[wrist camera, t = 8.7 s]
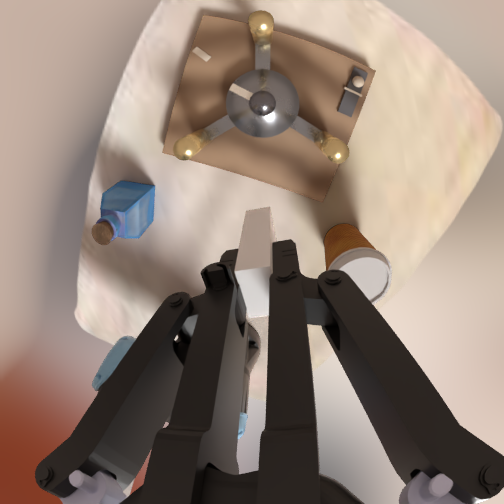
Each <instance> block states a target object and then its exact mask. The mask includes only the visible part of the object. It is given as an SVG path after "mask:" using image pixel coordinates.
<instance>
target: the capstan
mask: <svg viewBox="0 0 504 504" xmlns="http://www.w3.org/2000/svg"><path fill="white" fill-rule="evenodd" d="M248 23H249V26H250V30H251V33H252V37H253V40H254V43H255V70H252V71H249V72H247V73H245V74H243V75H241V76H240V77H239V78H237V79H236V80H235V81H234V82H233V84H232V85H231V87H230V89H229V91H228V93H227V98H226V109H227V113H228V115H226V116H224V117H223V118H221V119H219V120H218V121H216V122H214V123H213V124H211V125H209V126H208V127H206V128H202V129H199V130H197V131H195V132H193V133H191V134H189V135H186V136H184V137H182V138H180V139H178V140H177V141H176V142H175V143H174V146H173V153H174V155H175V156H176V157H177V158H178V159H180V160H188V159H190V158H192V157H193V156H194V155H195V154H197V153H198V152H199V151H200V150H202V149H203V148H204V147H205V146H207V145H208V144H209V143H210V142H211V141H212V139H214V138H216V137H217V136H219V135H221V134H222V133H224V132H226V131H228V130H229V129H231V128H233V127H234V126H236V127H237V128H238V129H239V130H240V131H242V132H244V133H245V134H248V135H250V136H253V137H259V138H267V137H273V136H276V135H278V134H281V133H282V132H284V131H286V130H287V129H288V128H289V127H291V128H292V129H294V130H295V131H297V132H299V133H300V134H302V135H303V136H305V137H307V138H308V139H310V140H311V141H313V142H314V144H315V145H316V146H317V147H318V148H319V149H320V150H321V151H322V152H323V153H324V154H325V156H326V157H327V158H328V159H329V160H330V161H332V162H333V163H343V162H344V161H346V160H347V158H348V156H349V148H348V146H347V145H346V144H345V143H344V142H342V141H341V140H339V139H337V138H336V137H334V136H332V135H331V134H329V133H328V132H326V131H323V130H319V129H318V128H316V127H315V126H313V125H312V124H310V123H308V122H307V121H305V120H304V119H302V118H301V117H299V116H297V115H298V111H299V96H298V93H297V90H296V88H295V87H294V85H293V84H292V83H291V81H290V80H289V79H287V78H286V77H285V76H283V75H282V74H280V73H278V72H275V71H272V70H270V45H271V44H272V41H273V24H274V19H273V17H272V15H271V14H270V13H268V12H266V11H255V12H253V13H252V14H251V15H250V16H249V19H248Z"/></svg>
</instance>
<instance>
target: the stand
mask: <svg viewBox="0 0 504 504" xmlns="http://www.w3.org/2000/svg"><path fill="white" fill-rule="evenodd" d="M252 70H255V43H254V40H253V37H252V33H251V30H250V26H249V24H248V23H244V22H239V21H235V20H230V19H225V18H219V17H213V16H207V15H203V17H202V20H201V23H200V25H199V28H198V31H197V33H196V36H195V39H194V42H193V44H192V47H191V50H190V53H189V56H188V59H187V62H186V65H185V69H184V72H183V75H182V78H181V82H180V85H179V88H178V92H177V96H176V99H175V103H174V106H173V110H172V114H171V118H170V122H169V126H168V130H167V134H166V139H165V143H164V147H163V152H162V153H165V154H169V155H173V156H175V155H174V153H173V146H174V143H175V142H176V141H177V140H178V139H180V138H182V137H184V136H186V135H189V134H191V133H193V132H195V131H197V130H199V129H202V128H206V127H208V126H209V125H211V124H213V123H214V122H216V121H218V120H219V119H221V118H223V117H224V116H226V115H228V113H227V109H226V98H227V93H228V91H229V89H230V87H231V85H232V84H233V82H234V81H235V80H236V79H237V78H239V77H240V76H241V75H243V74H245V73H247V72H249V71H252ZM270 70H272V71H275V72H278V73H280V74H282V75H283V76H285V77H286V78H287V79H289V80H290V81H291V83H292V84H293V85H294V87H295V88H296V90H297V93H298V96H299V111H298V115H297V116H299V117H301V118H302V119H304V120H305V121H307V122H308V123H310V124H312V125H313V126H315V127H316V128H318V129H319V130H323V131H326V132H328V133H329V134H331V135H332V136H334V137H336V138H337V139H339V140H341V141H342V142H344V143H345V144H346V145H347V144H348V142H349V139H350V137H351V134H352V132H353V129H354V127H355V124H356V122H357V119H358V117H359V114H360V111H361V109H362V106H363V104H364V101H365V99H366V96H367V93H368V91H369V88H370V85H371V83H372V80H373V77H374V74H375V72H376V71H375V70H373V69H371V68H369V67H367V66H365V65H363V64H361V63H359V62H357V61H355V60H353V59H350V58H348V57H346V56H344V55H341V54H339V53H337V52H334V51H332V50H330V49H327V48H325V47H322V46H320V45H317V44H314V43H312V42H309V41H306V40H303V39H300V38H297V37H294V36H291V35H288V34H285V33H282V32H278V31H275V30H273V41H272V44H271V45H270ZM188 160H192V161H195V162H199V163H202V164H206V165H210V166H213V167H217V168H220V169H223V170H227V171H230V172H233V173H237V174H240V175H243V176H246V177H250V178H253V179H256V180H259V181H262V182H265V183H268V184H271V185H274V186H277V187H280V188H283V189H286V190H289V191H292V192H295V193H298V194H301V195H303V196H306V197H309V198H312V199H315V200H317V201H320V202H323V201H324V198H325V196H326V194H327V191H328V189H329V187H330V185H331V182H332V180H333V178H334V175H335V173H336V170H337V168H338V166H339V163H333V162H332V161H330V160H329V159H328V158H327V157H326V156H325V154H324V153H323V152H322V151H321V150H320V149H319V148H318V147H317V146H316V145H315V144H314V142H313V141H311V140H310V139H308V138H307V137H305V136H303V135H302V134H300V133H299V132H297V131H295V130H294V129H292V128H291V127H289V128H288V129H287V130H286V131H284V132H282V133H281V134H278V135H276V136H273V137H267V138H259V137H253V136H250V135H248V134H245V133H244V132H242V131H240V130H239V129H238V128H237V127H236V126H234V127H233V128H231V129H229V130H228V131H226V132H224V133H222V134H221V135H219V136H217V137H216V138H214V139H212V141H211V142H210V143H209V144H208V145H207V146H205V147H204V148H203V149H202V150H200V151H199V152H198V153H197V154H195V155H194V156H193V157H192V158H190V159H188Z"/></svg>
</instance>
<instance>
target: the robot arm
mask: <svg viewBox="0 0 504 504" xmlns="http://www.w3.org/2000/svg"><path fill="white" fill-rule="evenodd" d="M201 276H202V278H203V281H204V284H205V286H206V290H205V293H204V294H202V295H199V296H196V297H193V298H190V296H189V295H188V294H187V293H184V292H178V293H174V294H172V295H171V296H169V297H168V298H167V299H166V300H165V301H164V302H163V303H162V305H161V306H160V307H159V309H158V310H157V311H156V313H155V314H154V315H153V317H152V318H151V319H150V321H149V322H148V324H147V325H146V326H145V328H144V329H143V330H142V332H141V333H140V335H139V336H138V337H137V339H136V338H134V337H132V336H124V337H122V338H120V339H119V340H118V341H117V342H116V344H115V345H114V346H113V348H112V349H111V350H110V352H109V353H108V355H107V356H106V358H105V359H104V361H103V363H102V364H101V366H100V368H99V370H98V372H97V374H96V376H95V378H94V380H93V383H92V386H93V388H94V389H95V391H98V394H97V396H96V398H95V399H94V401H93V402H92V404H91V405H90V407H89V408H88V410H87V411H86V413H85V414H84V416H83V417H82V419H81V421H80V422H79V424H78V425H77V427H76V428H75V430H74V431H73V433H72V434H71V436H70V437H69V438H68V439H67V440H66V441H64V442H63V443H62V444H61V445H60V446H59V447H57V449H55V450H54V451H53V452H52V453H51V454H50V455H48V456H47V457H46V458H45V459H43V460H42V461H41V462H40V463H39V465H38V466H37V468H36V471H35V478H36V482H37V484H38V485H39V487H40V488H42V489H43V490H45V491H47V492H49V493H51V494H53V495H55V496H57V497H59V498H60V499H61V501H62V502H63V504H364V503H363V502H362V501H360V500H359V499H358V498H357V497H356V496H355V495H353V494H352V493H351V492H350V491H349V490H348V489H347V488H346V487H344V486H343V485H342V484H341V483H339V482H337V481H336V480H334V479H332V478H330V477H328V476H326V475H323V474H320V468H319V451H318V434H317V420H316V409H315V396H314V385H313V375H312V364H311V355H310V345H309V337H308V328H307V324H311V325H321V326H322V329H323V331H324V333H325V335H326V337H327V339H328V340H329V342H330V344H331V346H332V348H333V350H334V352H335V354H336V355H337V357H338V359H339V361H340V363H341V365H342V367H343V369H344V371H345V373H346V375H347V376H348V378H349V380H350V382H351V384H352V386H353V388H354V390H355V392H356V394H357V396H358V397H359V400H360V402H361V403H362V405H363V407H364V409H365V411H366V413H367V415H368V417H369V419H370V421H371V423H372V425H373V427H374V429H375V431H376V433H377V435H378V437H379V439H380V441H381V443H382V445H383V447H384V449H385V451H386V454H387V456H388V457H389V460H390V462H391V464H392V465H393V467H394V469H395V471H396V472H397V474H398V475H399V476H400V477H401V479H402V480H403V482H404V483H405V484H406V486H405V487H404V489H403V490H402V492H401V494H400V497H399V504H478V503H480V502H483V501H485V500H487V499H490V498H491V497H493V496H495V495H497V494H498V493H499V492H500V491H501V490H502V488H503V487H504V456H503V455H502V454H500V453H499V452H497V451H496V450H494V449H493V448H492V447H490V446H489V445H487V444H486V443H484V442H483V441H482V440H480V439H479V438H477V437H476V436H474V435H473V434H472V433H470V432H469V431H467V430H466V429H465V428H463V427H462V426H460V425H459V423H458V422H457V420H456V419H455V417H454V416H453V414H452V412H451V411H450V409H449V408H448V406H447V405H446V403H445V402H444V401H443V399H442V397H441V396H440V395H439V393H438V392H437V390H436V389H435V387H434V386H433V384H432V383H431V382H430V380H429V379H428V377H427V376H426V374H425V373H424V372H423V370H422V369H421V367H420V366H419V365H418V363H417V362H416V361H415V359H414V358H413V356H412V355H411V354H410V352H409V351H408V350H407V348H406V347H405V346H404V344H403V343H402V342H401V340H400V339H399V338H398V337H397V335H396V334H395V332H394V331H393V330H392V328H391V327H390V326H389V325H388V323H387V322H386V321H385V319H384V318H383V317H382V316H381V314H380V313H379V312H378V311H377V309H376V308H375V307H374V305H373V304H372V303H371V302H370V300H369V299H368V298H367V297H366V296H365V294H364V293H363V292H362V291H361V289H360V288H359V287H358V286H357V285H356V283H355V282H354V281H353V280H352V278H351V277H350V276H349V275H348V274H347V273H346V272H344V271H342V270H335V269H333V270H327V271H325V272H323V273H321V274H320V275H319V276H318V279H313V278H308V277H305V276H304V275H302V274H301V273H300V269H299V263H298V256H297V250H296V244H295V243H294V242H293V241H292V240H291V239H290V240H284V241H278V242H277V239H276V234H275V229H274V224H273V219H272V214H271V209H270V207H266V208H260V209H255V210H249V211H246V214H245V219H244V224H243V229H242V234H241V240H240V245H239V249H233V250H227V251H226V252H225V253H224V254H223V255H222V256H221V259H220V262H217V263H213V264H210V265H208V266H206V267H205V268H204V269H203V270H202V271H201ZM246 311H247V314H248V317H249V318H255V317H263V316H269V326H268V365H267V396H266V424H265V429H264V431H263V432H262V434H261V439H260V453H259V470H258V471H253V472H249V473H245V474H239V468H238V463H237V459H236V452H237V441H238V439H239V438H241V437H242V435H243V434H244V431H245V426H246V421H247V418H248V415H247V409H248V395H249V380H250V373H251V371H252V369H253V367H254V365H255V363H256V361H257V359H258V357H259V355H260V348H261V341H260V337H259V335H258V333H257V332H256V331H255V330H254V329H253V328H252V327H251V326H250V325H248V323H247V320H246ZM176 335H178V339H177V340H176V341H175V340H174V339H175V337H176ZM165 422H168V423H169V425H168V426H167V427H166V428H163V426H164V424H165ZM151 449H152V451H151V455H150V459H149V463H148V467H147V472H146V475H145V480H144V484H143V485H142V486H141V487H139V488H138V489H137V490H136V491H134V492H133V493H132V494H131V495H130V492H131V488H132V485H133V482H134V479H135V477H136V476H137V474H138V472H139V471H140V469H141V467H142V466H143V464H144V462H145V460H146V458H147V456H148V454H149V452H150V450H151Z"/></svg>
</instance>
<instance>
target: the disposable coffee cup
mask: <svg viewBox="0 0 504 504" xmlns="http://www.w3.org/2000/svg"><path fill="white" fill-rule="evenodd" d="M324 247H325V260H326V271H327V270H333V269H335V270H342V271H344V272H346V273H347V274H348V275H349V276H350V277H351V278H352V280H353V281H354V282H355V283H356V285H357V286H358V287H359V288H360V289H361V291H362V292H363V293H364V294H365V296H366V297H367V298H368V299H369V300H370V302H371V303H372V304H373V305H374V304H376V303H377V302H378V301H380V300H381V299H382V298H383V297H384V296H385V294H386V293H387V291H388V289H389V288H390V284H391V275H392V269H391V265H390V262H389V260H388V259H387V257H386V256H385V255H384V254H382V253H381V252H379V251H377V250H376V249H375V248H374V247H373V246H372V245H371V243H370V242H369V241H368V240H367V239H366V238H365V237H364V236H363V235H362V234H361V233H360V232H359V231H358V229H357V228H356V227H354V226H353V225H350V224H339V225H336V226H334V227H333V228H331V229H330V230H329V231H328V232H327V234H326V236H325V239H324Z"/></svg>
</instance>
